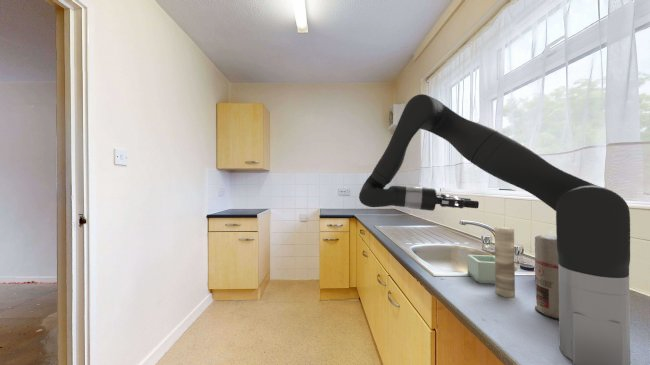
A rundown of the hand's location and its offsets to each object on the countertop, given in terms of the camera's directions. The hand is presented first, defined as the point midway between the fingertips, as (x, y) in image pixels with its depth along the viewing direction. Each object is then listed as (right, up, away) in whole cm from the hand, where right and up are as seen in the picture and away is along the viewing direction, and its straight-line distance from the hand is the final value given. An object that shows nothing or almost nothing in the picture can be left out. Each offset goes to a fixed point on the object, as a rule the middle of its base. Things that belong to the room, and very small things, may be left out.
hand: (474, 203), depth 78 cm
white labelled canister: (+13, -28, -14) cm, 34 cm away
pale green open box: (+10, -28, +10) cm, 31 cm away
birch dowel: (+8, -28, -2) cm, 29 cm away
